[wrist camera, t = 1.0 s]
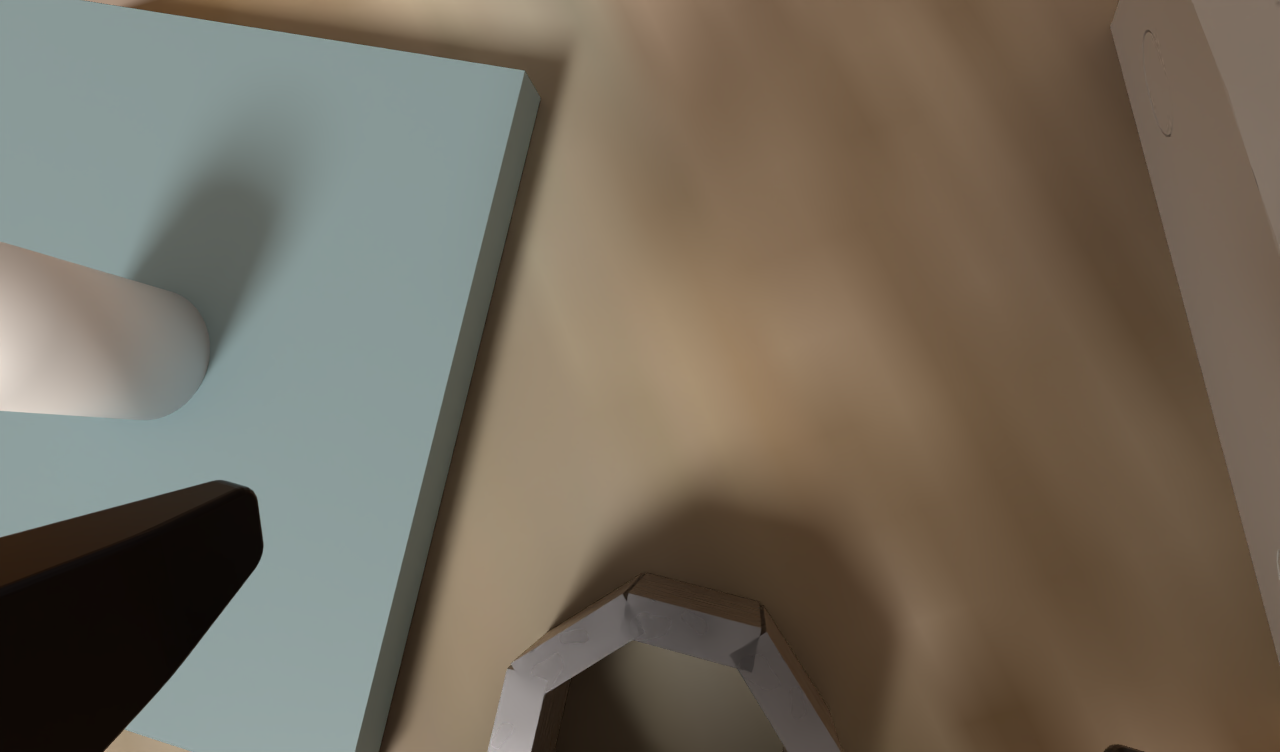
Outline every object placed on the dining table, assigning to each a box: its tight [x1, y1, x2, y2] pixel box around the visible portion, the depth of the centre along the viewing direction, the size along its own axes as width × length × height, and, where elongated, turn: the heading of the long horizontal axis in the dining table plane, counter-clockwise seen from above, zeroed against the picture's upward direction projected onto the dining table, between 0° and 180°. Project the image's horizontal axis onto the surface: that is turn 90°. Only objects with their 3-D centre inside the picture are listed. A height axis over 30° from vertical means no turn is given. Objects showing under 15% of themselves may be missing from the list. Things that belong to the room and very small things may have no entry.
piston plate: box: [0, 0, 541, 752], centre depth 19 cm, size 18×16×6 cm
